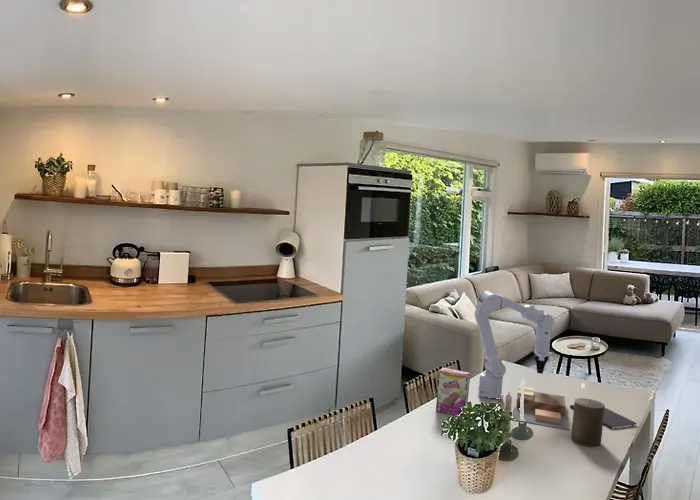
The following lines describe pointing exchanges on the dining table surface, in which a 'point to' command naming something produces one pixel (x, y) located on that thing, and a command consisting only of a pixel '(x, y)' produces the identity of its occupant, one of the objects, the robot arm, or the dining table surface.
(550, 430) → the dining table surface
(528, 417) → the mat
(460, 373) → the candy bar box
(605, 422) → the notebook
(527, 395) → the cream flat block
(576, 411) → the pillar candle
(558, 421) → the peach rectangular block
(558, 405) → the tan flat block
